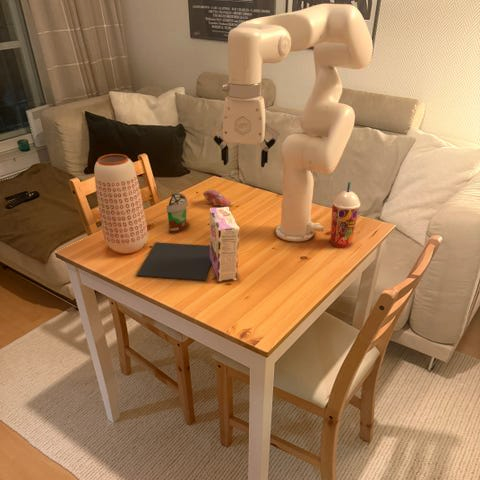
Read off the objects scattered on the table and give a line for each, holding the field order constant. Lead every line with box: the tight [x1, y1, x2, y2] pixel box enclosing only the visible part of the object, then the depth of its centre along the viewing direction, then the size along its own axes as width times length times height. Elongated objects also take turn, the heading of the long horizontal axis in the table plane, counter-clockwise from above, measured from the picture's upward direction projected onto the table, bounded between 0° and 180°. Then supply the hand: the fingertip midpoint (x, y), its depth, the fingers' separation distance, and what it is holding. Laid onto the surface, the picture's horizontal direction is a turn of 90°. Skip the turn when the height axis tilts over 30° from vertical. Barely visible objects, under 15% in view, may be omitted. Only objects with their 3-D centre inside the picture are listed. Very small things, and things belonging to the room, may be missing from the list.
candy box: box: [209, 206, 240, 282], centre depth 128 cm, size 14×6×16 cm, turn 13°
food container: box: [166, 191, 189, 234], centre depth 153 cm, size 12×6×10 cm, turn 179°
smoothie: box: [330, 181, 361, 248], centre depth 140 cm, size 8×8×20 cm
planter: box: [93, 153, 148, 255], centre depth 135 cm, size 13×13×28 cm
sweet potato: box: [203, 188, 231, 207], centre depth 169 cm, size 10×5×7 cm, turn 47°
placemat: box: [136, 242, 212, 282], centre depth 137 cm, size 20×20×1 cm
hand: (244, 164), depth 116 cm, fingers open, 9 cm apart
